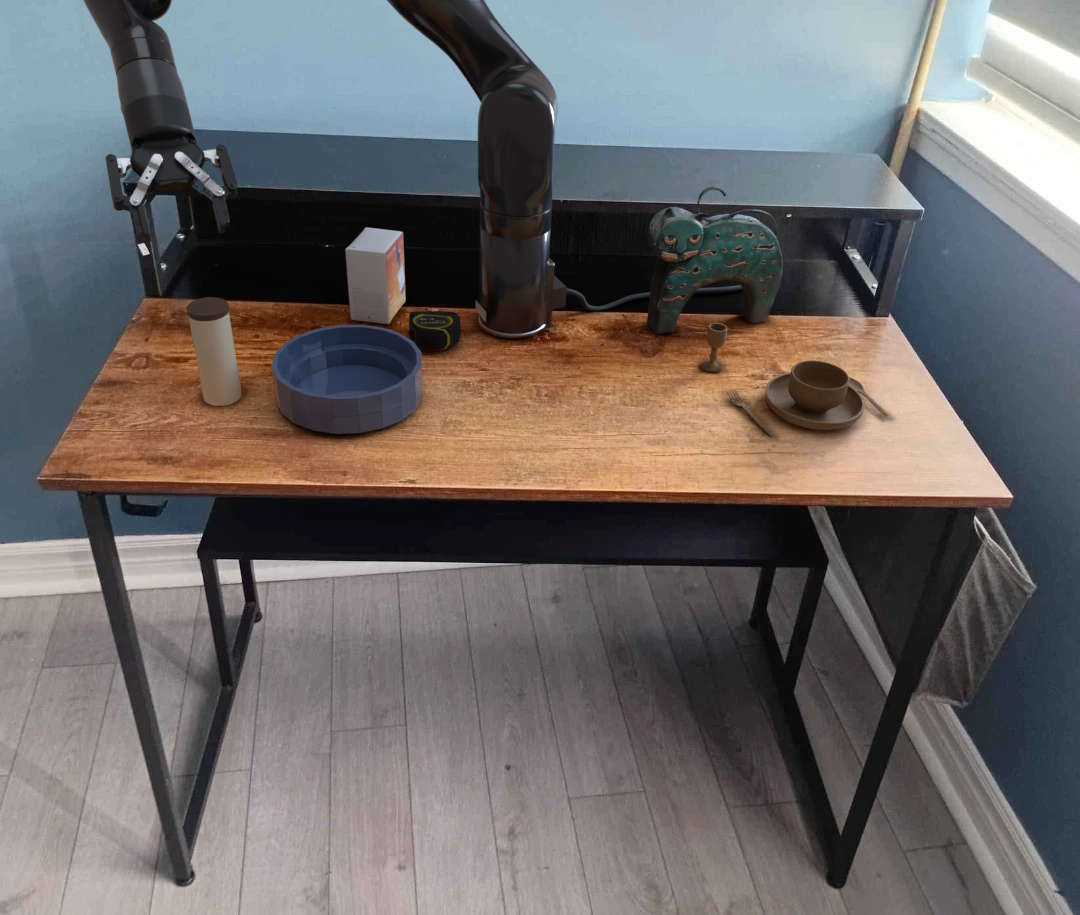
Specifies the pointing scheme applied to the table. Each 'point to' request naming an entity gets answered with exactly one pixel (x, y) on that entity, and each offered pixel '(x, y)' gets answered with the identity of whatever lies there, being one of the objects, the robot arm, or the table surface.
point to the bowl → (348, 378)
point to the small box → (376, 275)
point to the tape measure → (434, 329)
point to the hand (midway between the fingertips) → (186, 235)
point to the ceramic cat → (711, 261)
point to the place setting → (803, 391)
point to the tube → (214, 350)
